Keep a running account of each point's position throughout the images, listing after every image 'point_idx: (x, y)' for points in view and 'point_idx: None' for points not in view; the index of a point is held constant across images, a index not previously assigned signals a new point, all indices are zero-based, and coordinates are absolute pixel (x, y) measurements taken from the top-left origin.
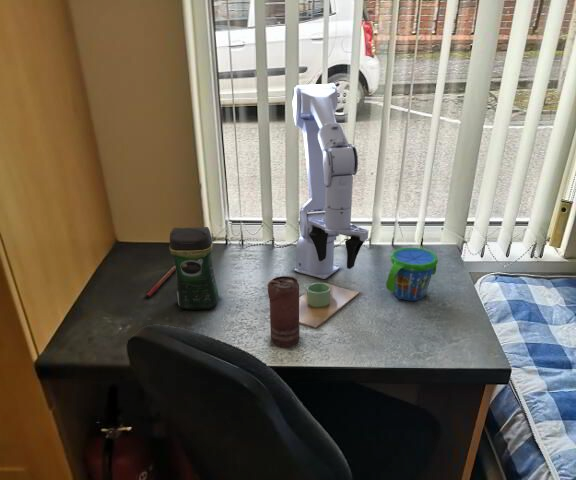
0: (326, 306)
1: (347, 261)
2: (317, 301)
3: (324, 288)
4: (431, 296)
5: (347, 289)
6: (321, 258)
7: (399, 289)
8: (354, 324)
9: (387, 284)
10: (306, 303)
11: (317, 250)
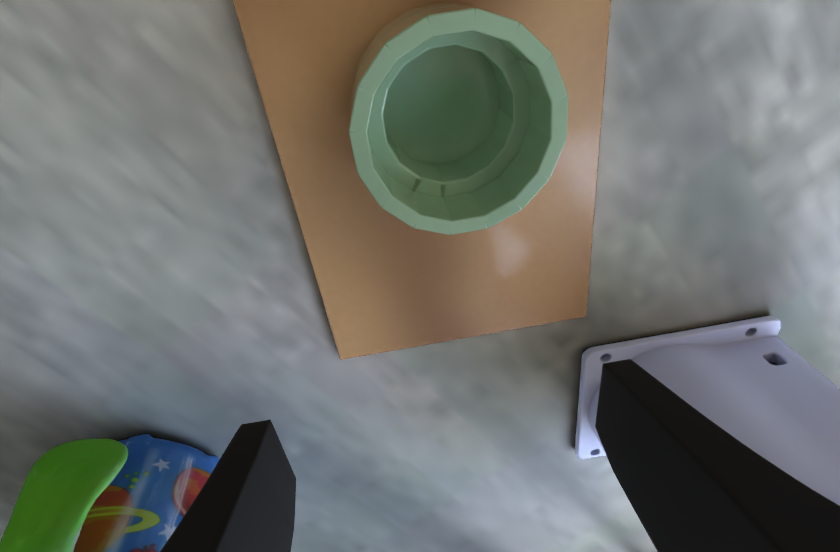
0: None
1: (230, 494)
2: (393, 27)
3: (454, 203)
4: None
5: (410, 345)
6: (617, 391)
7: (119, 478)
8: (19, 34)
9: (98, 469)
10: None
11: (728, 450)
